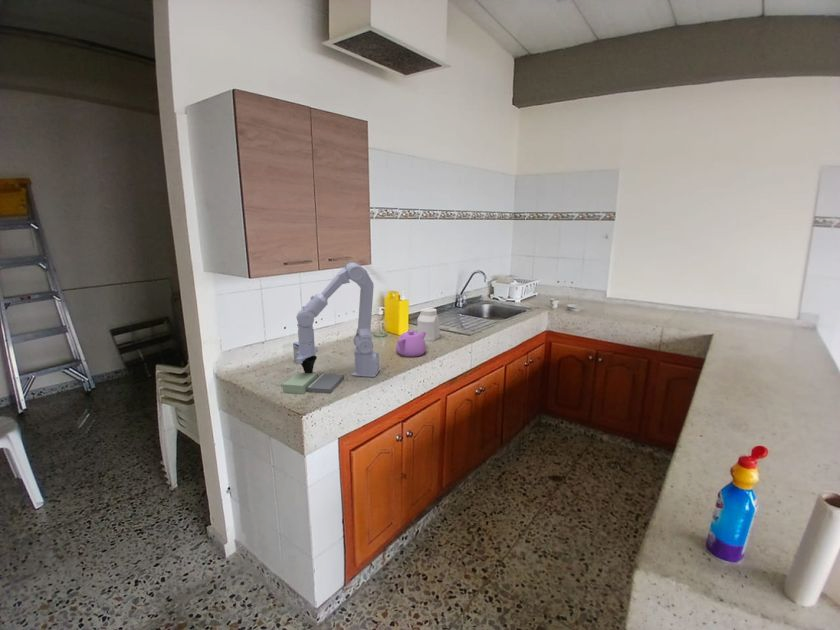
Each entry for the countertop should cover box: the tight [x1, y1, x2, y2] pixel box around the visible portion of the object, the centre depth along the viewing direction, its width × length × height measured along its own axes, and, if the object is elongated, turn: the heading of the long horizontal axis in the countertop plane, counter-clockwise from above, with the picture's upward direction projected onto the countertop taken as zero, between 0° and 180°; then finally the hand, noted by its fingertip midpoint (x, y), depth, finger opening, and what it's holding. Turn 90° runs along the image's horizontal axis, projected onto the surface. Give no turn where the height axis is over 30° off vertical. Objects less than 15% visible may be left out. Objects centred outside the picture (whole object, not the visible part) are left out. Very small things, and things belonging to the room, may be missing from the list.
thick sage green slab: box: [282, 372, 318, 395], centre depth 155 cm, size 8×12×3 cm, turn 170°
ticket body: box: [306, 373, 345, 394], centre depth 156 cm, size 9×14×2 cm, turn 170°
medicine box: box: [292, 341, 316, 363], centre depth 182 cm, size 8×4×9 cm, turn 141°
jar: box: [416, 307, 441, 342], centre depth 214 cm, size 12×10×15 cm
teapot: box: [395, 329, 427, 358], centre depth 193 cm, size 14×20×11 cm
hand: (308, 375), depth 161 cm, fingers closed
